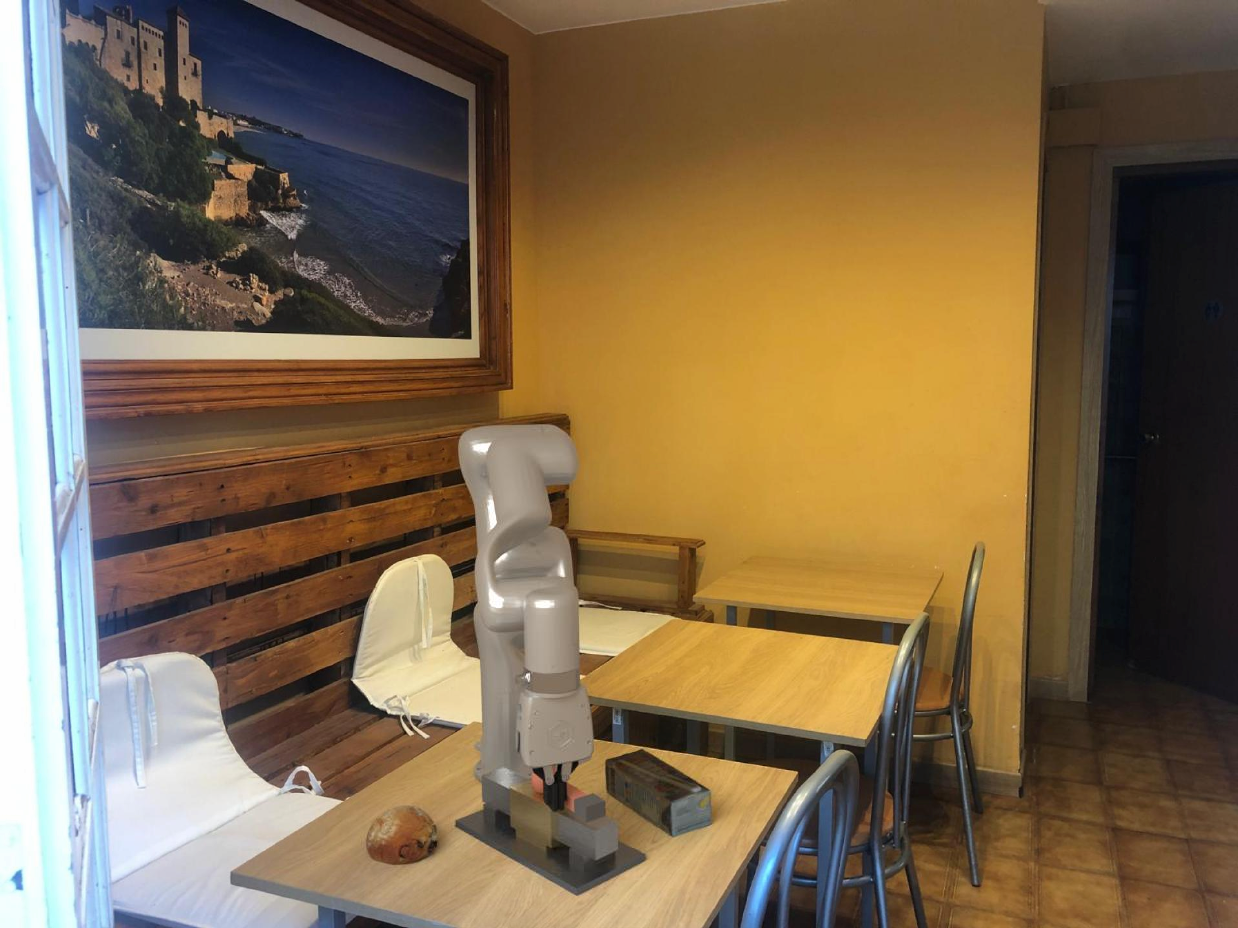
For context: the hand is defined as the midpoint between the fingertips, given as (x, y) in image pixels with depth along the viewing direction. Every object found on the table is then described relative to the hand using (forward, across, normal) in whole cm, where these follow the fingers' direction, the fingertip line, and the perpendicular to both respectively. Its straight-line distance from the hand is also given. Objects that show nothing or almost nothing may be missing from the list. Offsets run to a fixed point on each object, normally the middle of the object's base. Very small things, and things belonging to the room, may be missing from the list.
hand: (555, 806), depth 137 cm
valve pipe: (+9, +1, +8) cm, 12 cm away
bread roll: (+9, -18, +15) cm, 25 cm away
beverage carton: (+10, +21, +11) cm, 25 cm away
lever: (0, +2, +2) cm, 3 cm away
